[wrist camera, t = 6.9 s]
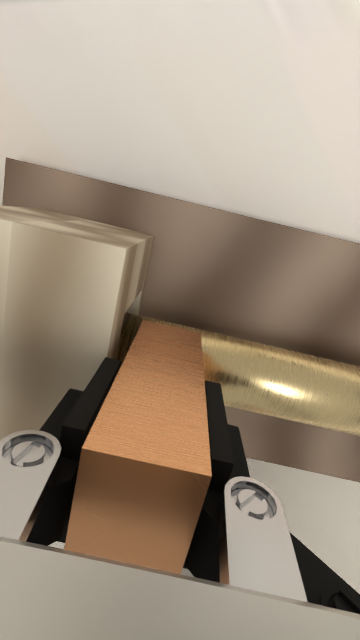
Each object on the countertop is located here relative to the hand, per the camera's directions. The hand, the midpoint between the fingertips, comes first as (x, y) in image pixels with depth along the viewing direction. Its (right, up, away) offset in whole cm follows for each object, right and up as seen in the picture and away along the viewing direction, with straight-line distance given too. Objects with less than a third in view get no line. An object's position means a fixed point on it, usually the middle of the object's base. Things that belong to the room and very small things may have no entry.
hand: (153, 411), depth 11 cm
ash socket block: (-5, +3, +8) cm, 10 cm away
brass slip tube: (+6, 0, +6) cm, 9 cm away
